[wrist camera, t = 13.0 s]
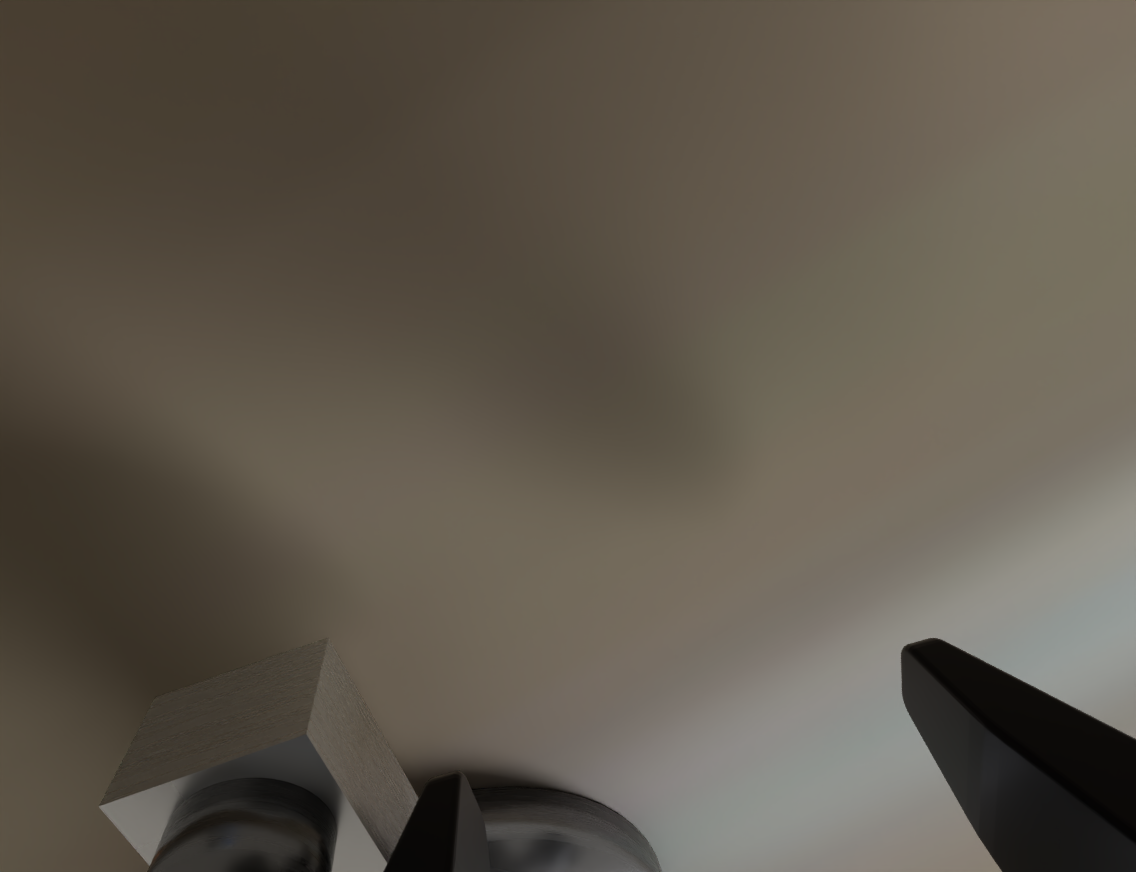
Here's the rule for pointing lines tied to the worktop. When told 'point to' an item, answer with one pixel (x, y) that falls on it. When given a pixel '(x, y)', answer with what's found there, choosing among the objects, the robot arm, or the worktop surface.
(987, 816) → the robot arm
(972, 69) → the worktop surface
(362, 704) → the crank
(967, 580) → the worktop surface
